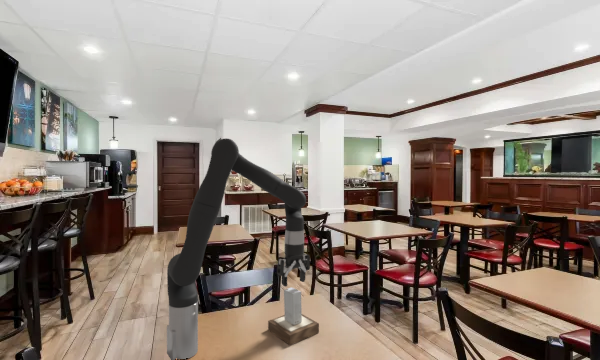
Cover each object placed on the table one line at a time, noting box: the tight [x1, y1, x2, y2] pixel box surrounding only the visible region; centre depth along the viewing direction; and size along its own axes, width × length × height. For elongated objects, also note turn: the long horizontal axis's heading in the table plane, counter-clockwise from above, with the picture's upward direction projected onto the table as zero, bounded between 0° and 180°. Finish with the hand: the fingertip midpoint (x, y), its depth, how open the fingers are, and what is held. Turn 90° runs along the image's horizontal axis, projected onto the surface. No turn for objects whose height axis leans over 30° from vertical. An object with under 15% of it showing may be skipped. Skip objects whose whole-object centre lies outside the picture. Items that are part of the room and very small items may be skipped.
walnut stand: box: [267, 313, 320, 346], centre depth 119 cm, size 14×14×4 cm
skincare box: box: [283, 287, 303, 325], centre depth 119 cm, size 6×4×12 cm
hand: (293, 283), depth 119 cm, fingers open, 8 cm apart
